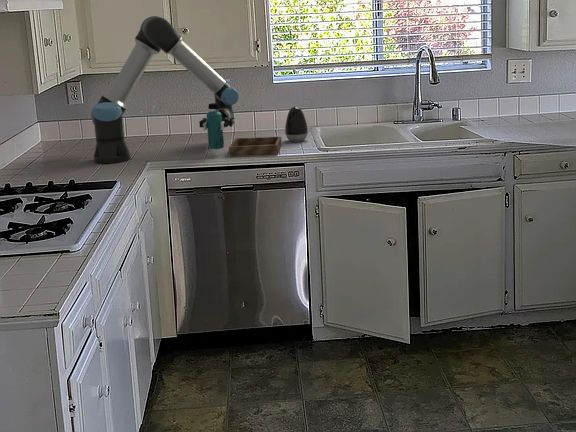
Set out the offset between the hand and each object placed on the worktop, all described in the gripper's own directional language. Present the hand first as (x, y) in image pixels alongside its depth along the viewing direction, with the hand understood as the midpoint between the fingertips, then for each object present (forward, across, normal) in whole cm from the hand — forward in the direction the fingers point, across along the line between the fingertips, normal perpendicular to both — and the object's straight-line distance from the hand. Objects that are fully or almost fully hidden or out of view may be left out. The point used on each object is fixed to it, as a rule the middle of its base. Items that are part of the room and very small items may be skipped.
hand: (213, 126), depth 352 cm
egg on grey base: (-31, -32, -13) cm, 46 cm away
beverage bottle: (-5, 0, -11) cm, 12 cm away
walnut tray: (-11, -16, -13) cm, 23 cm away
